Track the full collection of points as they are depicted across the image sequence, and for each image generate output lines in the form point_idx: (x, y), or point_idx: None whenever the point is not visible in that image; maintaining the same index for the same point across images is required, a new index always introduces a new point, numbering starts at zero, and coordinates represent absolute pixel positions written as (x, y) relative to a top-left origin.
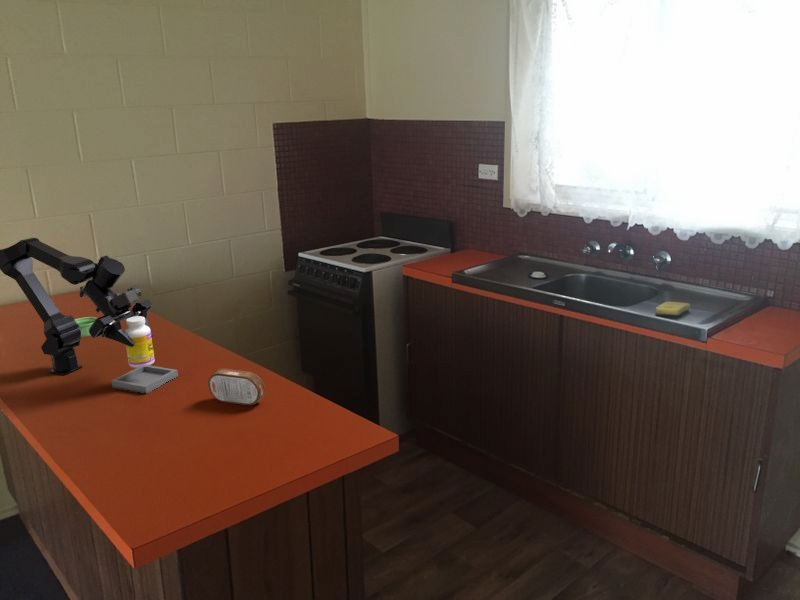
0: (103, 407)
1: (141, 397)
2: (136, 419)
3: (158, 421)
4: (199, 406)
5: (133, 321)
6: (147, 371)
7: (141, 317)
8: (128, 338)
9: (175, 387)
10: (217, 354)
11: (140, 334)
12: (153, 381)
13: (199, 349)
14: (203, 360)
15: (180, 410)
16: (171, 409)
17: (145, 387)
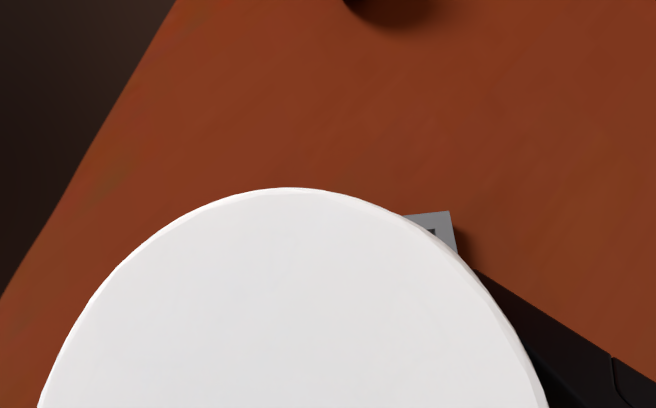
0: (632, 277)
1: (473, 213)
2: (597, 85)
3: (556, 24)
4: (416, 10)
5: (466, 283)
6: None
7: (114, 364)
8: (525, 314)
9: (347, 171)
10: (52, 265)
11: (399, 216)
12: None
13: (8, 384)
14: (112, 270)
15: (466, 30)
16: (477, 54)
17: (448, 211)
